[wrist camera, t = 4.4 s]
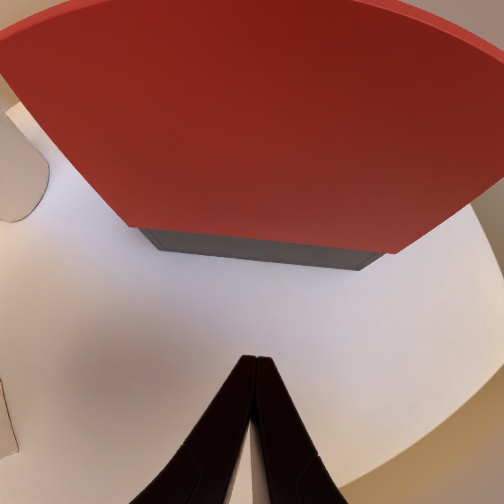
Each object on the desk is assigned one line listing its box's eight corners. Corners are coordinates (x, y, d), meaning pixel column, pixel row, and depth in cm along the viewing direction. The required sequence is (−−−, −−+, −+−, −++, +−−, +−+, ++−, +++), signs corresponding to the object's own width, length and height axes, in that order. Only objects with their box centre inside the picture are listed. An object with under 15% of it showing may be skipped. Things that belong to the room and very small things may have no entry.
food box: (189, 122, 26) (178, 78, 20) (354, 139, 25) (374, 99, 20) (158, 250, 22) (133, 223, 17) (359, 271, 22) (391, 250, 17)
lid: (-1, 30, 4) (-18, 49, 4) (560, 95, 4) (572, 116, 3) (132, 214, 16) (128, 227, 16) (395, 241, 16) (395, 254, 16)
